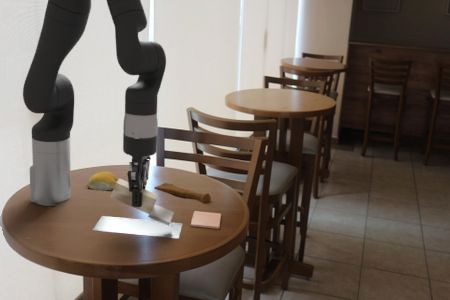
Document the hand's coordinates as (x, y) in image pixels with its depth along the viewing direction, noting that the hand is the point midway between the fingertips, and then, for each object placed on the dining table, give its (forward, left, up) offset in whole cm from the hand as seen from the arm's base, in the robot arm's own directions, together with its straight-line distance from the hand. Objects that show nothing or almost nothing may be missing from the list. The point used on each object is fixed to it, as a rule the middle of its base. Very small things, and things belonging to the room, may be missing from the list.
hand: (138, 203), depth 109 cm
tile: (+12, +7, -7) cm, 16 cm away
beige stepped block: (+1, 0, -1) cm, 1 cm away
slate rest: (0, 0, -7) cm, 7 cm away
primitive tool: (+7, +25, -8) cm, 27 cm away
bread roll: (-16, +26, -8) cm, 32 cm away
